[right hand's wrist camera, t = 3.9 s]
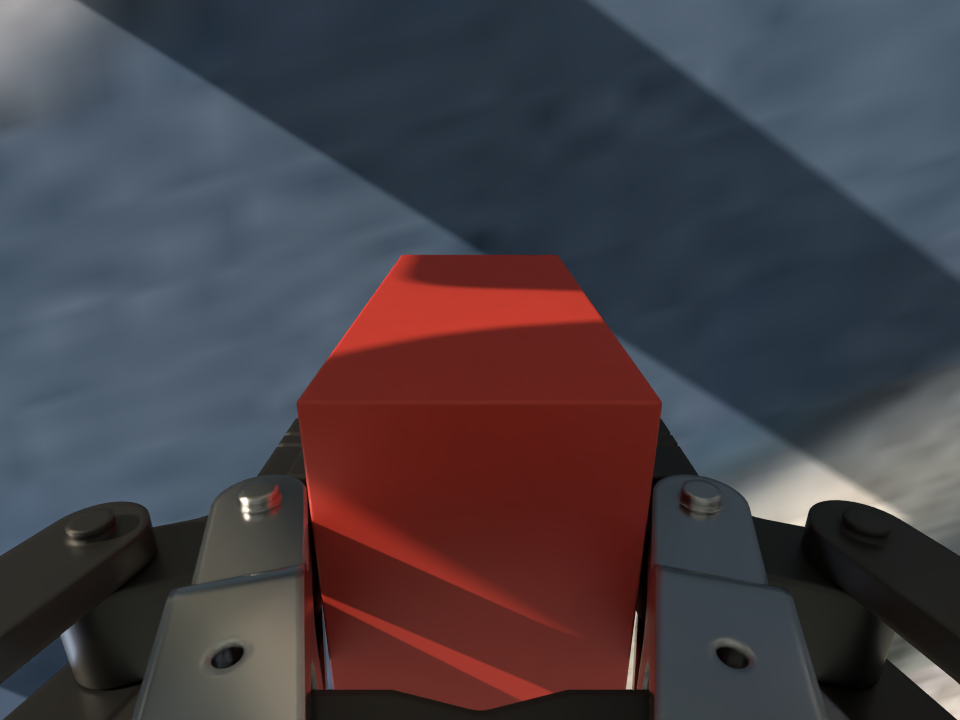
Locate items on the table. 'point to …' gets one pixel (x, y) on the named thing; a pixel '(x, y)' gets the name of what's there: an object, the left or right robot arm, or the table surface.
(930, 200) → the table surface
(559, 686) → the brick
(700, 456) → the table surface
